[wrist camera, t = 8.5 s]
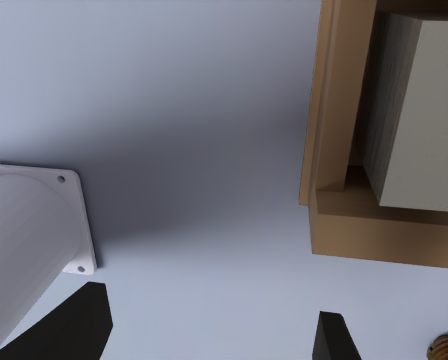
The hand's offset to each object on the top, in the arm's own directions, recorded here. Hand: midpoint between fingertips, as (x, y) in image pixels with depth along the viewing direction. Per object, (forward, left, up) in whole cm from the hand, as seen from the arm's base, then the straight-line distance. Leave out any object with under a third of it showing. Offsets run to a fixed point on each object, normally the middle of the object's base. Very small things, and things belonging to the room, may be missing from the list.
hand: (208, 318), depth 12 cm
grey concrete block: (+7, +6, -9) cm, 13 cm away
